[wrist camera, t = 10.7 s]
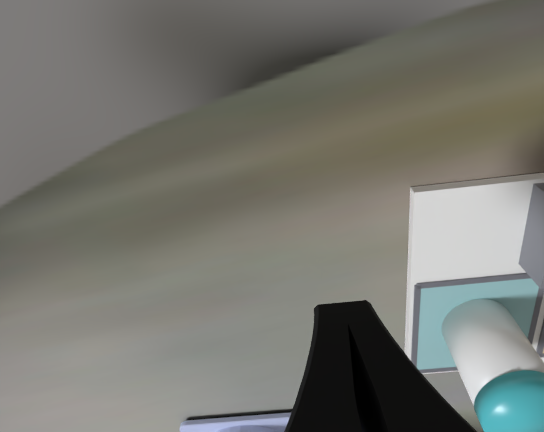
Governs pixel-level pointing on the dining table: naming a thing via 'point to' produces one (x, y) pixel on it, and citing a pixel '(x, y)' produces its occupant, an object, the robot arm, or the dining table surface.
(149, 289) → the dining table surface
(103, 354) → the dining table surface
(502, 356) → the jar with teal lid
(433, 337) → the picture board
